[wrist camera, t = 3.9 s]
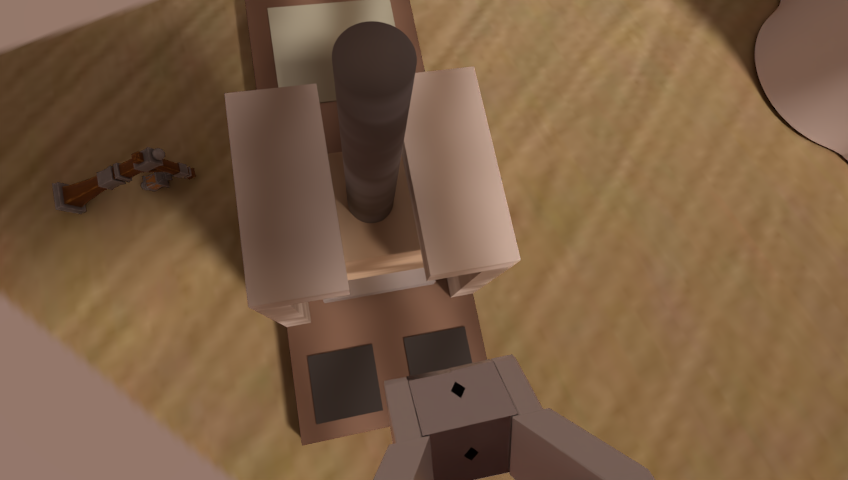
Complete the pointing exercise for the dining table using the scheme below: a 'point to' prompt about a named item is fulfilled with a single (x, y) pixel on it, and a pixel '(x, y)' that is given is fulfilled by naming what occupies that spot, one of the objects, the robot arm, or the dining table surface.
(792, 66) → the robot arm
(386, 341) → the tunnel track
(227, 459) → the dining table surface
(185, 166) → the toy flintlock pistol
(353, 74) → the rod on wooden block
